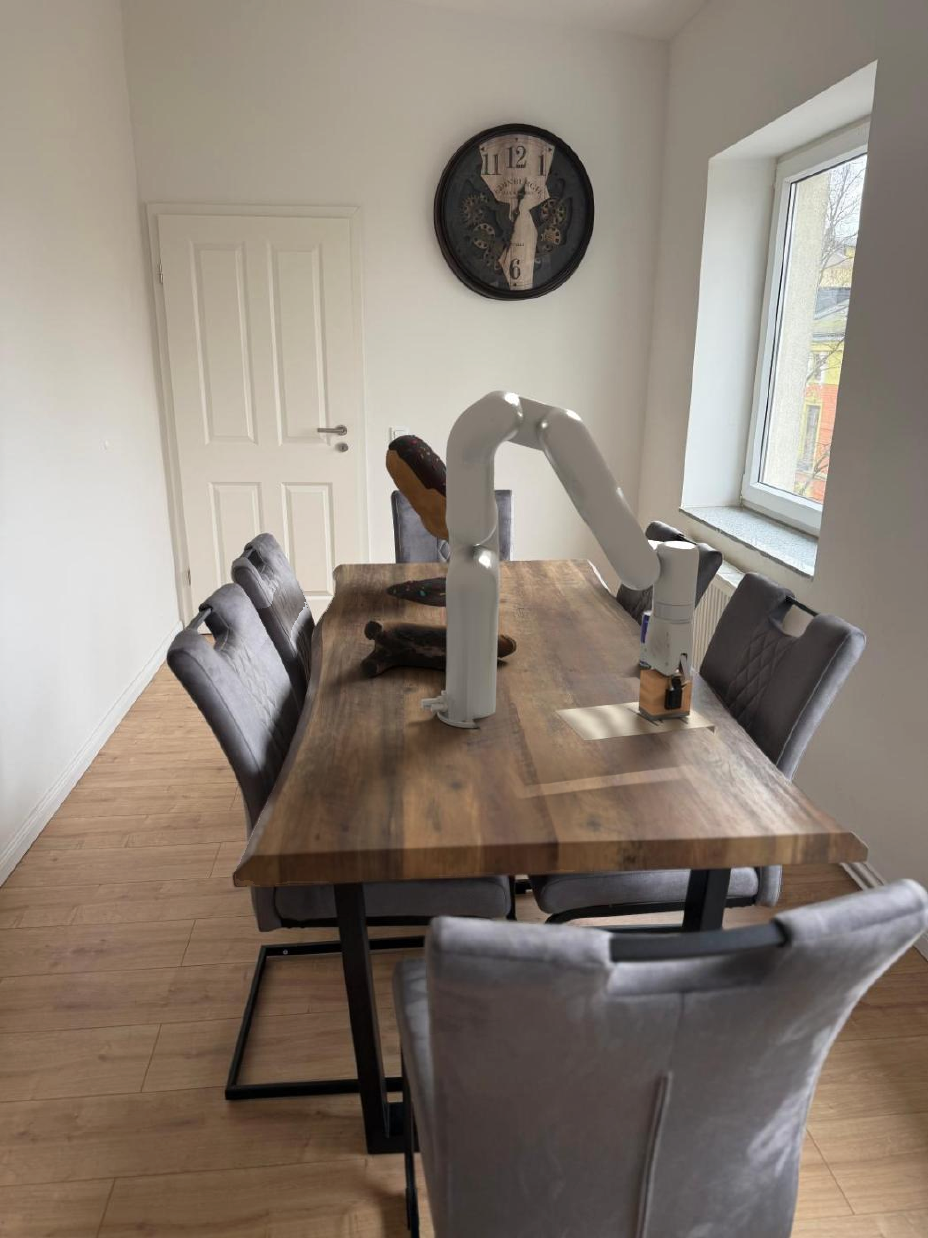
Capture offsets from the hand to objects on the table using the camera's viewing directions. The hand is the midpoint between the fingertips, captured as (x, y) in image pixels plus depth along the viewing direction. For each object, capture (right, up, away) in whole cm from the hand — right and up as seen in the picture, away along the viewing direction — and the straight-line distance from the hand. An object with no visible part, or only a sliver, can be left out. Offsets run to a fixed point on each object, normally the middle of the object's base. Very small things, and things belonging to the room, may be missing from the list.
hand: (664, 702), depth 164 cm
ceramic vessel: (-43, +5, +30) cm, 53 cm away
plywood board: (-6, -4, -1) cm, 8 cm away
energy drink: (+4, +5, +33) cm, 33 cm away
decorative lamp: (-45, +23, +91) cm, 104 cm away
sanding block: (0, -2, +1) cm, 2 cm away
